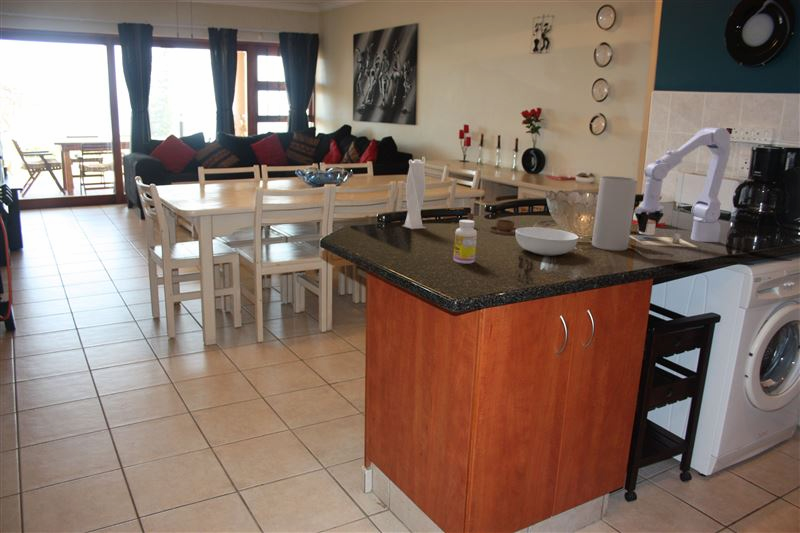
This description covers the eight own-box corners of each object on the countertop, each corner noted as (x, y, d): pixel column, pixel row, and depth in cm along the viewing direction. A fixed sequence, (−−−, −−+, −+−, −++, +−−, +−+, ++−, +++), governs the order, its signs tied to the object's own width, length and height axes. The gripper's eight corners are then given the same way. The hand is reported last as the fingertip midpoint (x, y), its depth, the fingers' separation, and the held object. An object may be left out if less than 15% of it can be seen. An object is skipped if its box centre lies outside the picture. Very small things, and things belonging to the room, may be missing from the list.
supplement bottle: (451, 258, 202) (454, 218, 199) (472, 259, 203) (475, 219, 199) (455, 263, 196) (458, 222, 192) (476, 264, 196) (479, 223, 193)
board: (677, 241, 249) (678, 237, 249) (697, 250, 234) (697, 246, 233) (627, 239, 248) (627, 235, 248) (643, 248, 233) (644, 244, 232)
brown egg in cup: (650, 232, 245) (652, 219, 244) (655, 235, 240) (657, 222, 239) (637, 231, 245) (639, 219, 244) (642, 234, 240) (644, 221, 239)
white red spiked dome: (629, 220, 294) (633, 187, 290) (660, 222, 292) (665, 189, 288) (635, 225, 280) (640, 191, 276) (668, 228, 279) (673, 193, 275)
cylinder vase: (611, 252, 223) (621, 181, 217) (584, 245, 233) (592, 176, 227) (634, 249, 230) (645, 180, 223) (607, 242, 240) (616, 176, 233)
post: (677, 242, 239) (678, 233, 238) (680, 244, 237) (681, 234, 236) (671, 242, 239) (672, 233, 238) (673, 243, 237) (675, 234, 236)
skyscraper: (428, 229, 248) (433, 156, 241) (411, 230, 243) (416, 156, 236) (416, 225, 254) (420, 154, 247) (399, 226, 250) (403, 154, 243)
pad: (651, 237, 247) (651, 236, 247) (660, 241, 240) (660, 240, 240) (631, 236, 247) (631, 235, 247) (639, 240, 239) (639, 239, 239)
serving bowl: (564, 263, 204) (567, 242, 202) (504, 252, 214) (505, 232, 213) (583, 252, 221) (586, 233, 219) (526, 243, 232) (528, 224, 230)
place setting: (497, 238, 240) (499, 222, 238) (463, 228, 256) (464, 213, 254) (530, 234, 250) (532, 220, 248) (495, 225, 266) (497, 211, 264)
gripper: (648, 197, 232) (642, 234, 236) (673, 196, 240) (667, 232, 243) (632, 195, 238) (627, 230, 241) (657, 193, 245) (652, 228, 249)
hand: (646, 231), depth 243 cm, fingers closed on brown egg in cup, 5 cm apart
